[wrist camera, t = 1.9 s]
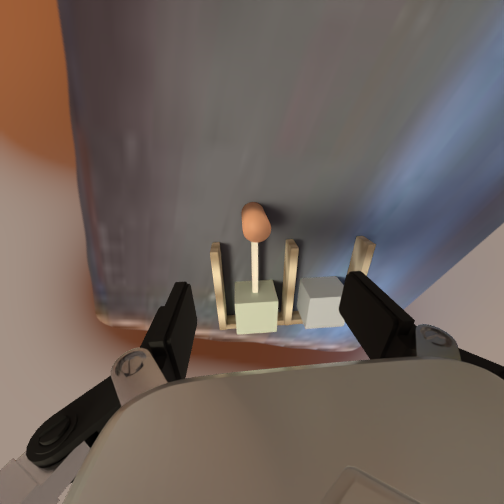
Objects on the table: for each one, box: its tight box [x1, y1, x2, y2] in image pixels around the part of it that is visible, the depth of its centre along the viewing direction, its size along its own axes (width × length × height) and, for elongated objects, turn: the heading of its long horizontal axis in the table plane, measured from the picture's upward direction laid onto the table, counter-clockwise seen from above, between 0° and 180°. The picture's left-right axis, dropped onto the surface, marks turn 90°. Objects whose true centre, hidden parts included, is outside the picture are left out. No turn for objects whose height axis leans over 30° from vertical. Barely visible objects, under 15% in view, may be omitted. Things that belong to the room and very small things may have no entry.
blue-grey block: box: [297, 276, 345, 329], centre depth 31 cm, size 6×6×5 cm
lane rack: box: [210, 236, 376, 330], centre depth 30 cm, size 15×22×3 cm
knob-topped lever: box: [235, 202, 278, 334], centre depth 27 cm, size 18×6×6 cm, turn 1°
